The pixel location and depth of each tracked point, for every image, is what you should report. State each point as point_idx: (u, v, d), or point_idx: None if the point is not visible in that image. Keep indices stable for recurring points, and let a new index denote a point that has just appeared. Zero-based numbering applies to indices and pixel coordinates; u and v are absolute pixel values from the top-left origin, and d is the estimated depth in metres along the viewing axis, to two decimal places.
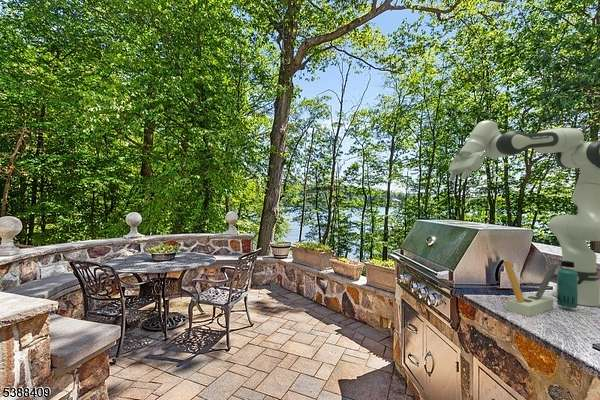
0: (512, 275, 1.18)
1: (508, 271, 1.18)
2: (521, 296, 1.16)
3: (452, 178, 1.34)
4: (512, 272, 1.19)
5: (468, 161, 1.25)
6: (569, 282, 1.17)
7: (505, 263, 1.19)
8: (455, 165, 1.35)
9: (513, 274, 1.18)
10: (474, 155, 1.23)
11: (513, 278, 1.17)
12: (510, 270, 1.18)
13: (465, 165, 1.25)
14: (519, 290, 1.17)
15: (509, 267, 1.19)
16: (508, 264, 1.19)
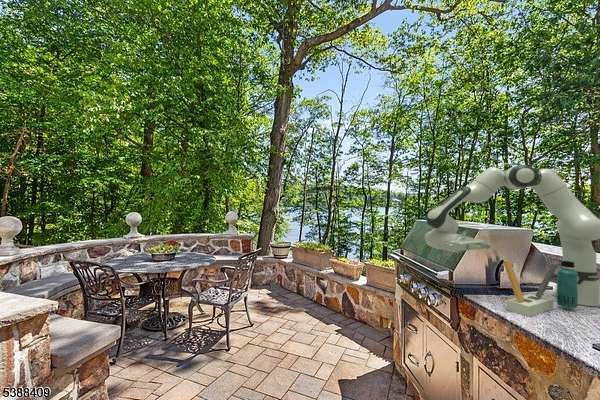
0: (512, 275, 1.18)
1: (508, 271, 1.18)
2: (521, 296, 1.16)
3: (487, 247, 1.30)
4: (512, 272, 1.19)
5: None
6: (569, 282, 1.17)
7: (505, 263, 1.19)
8: None
9: (513, 274, 1.18)
10: None
11: (513, 278, 1.17)
12: (510, 270, 1.18)
13: None
14: (519, 290, 1.17)
15: (509, 267, 1.19)
16: (508, 264, 1.19)
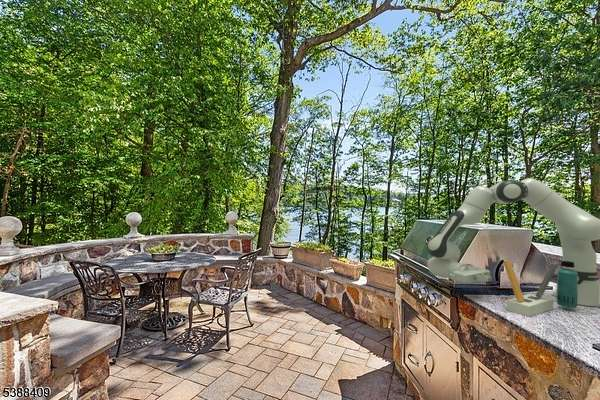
0: (512, 275, 1.18)
1: (508, 271, 1.18)
2: (521, 296, 1.16)
3: None
4: (512, 272, 1.19)
5: None
6: (569, 282, 1.17)
7: (505, 263, 1.19)
8: None
9: (513, 274, 1.18)
10: None
11: (513, 278, 1.17)
12: (510, 270, 1.18)
13: None
14: (519, 290, 1.17)
15: (509, 267, 1.19)
16: (508, 264, 1.19)
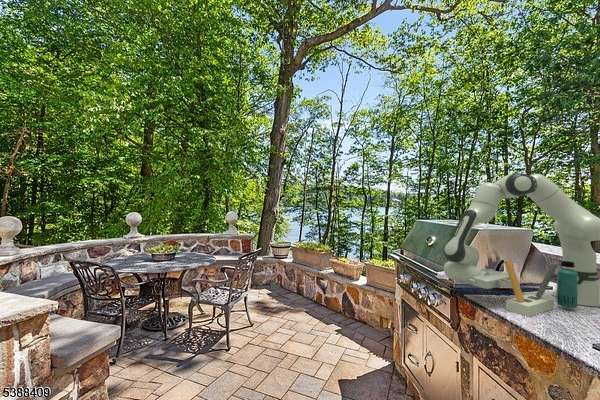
0: (513, 275, 1.18)
1: (509, 271, 1.18)
2: (521, 296, 1.16)
3: None
4: (513, 272, 1.18)
5: None
6: (569, 282, 1.17)
7: (506, 263, 1.19)
8: None
9: (514, 274, 1.18)
10: None
11: (514, 278, 1.17)
12: (511, 270, 1.18)
13: None
14: (519, 290, 1.16)
15: (510, 267, 1.18)
16: (509, 264, 1.19)
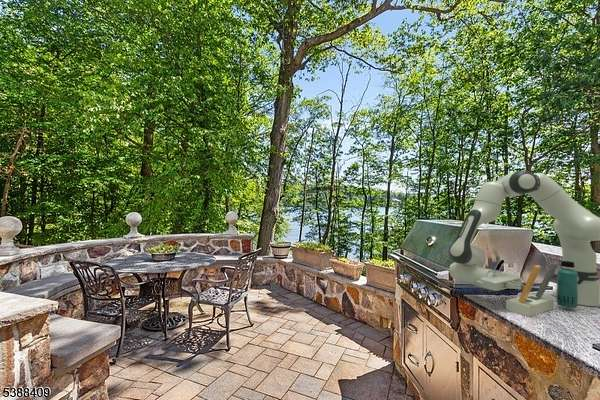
0: (532, 280, 1.12)
1: (531, 276, 1.11)
2: (525, 298, 1.15)
3: None
4: (534, 277, 1.12)
5: None
6: (569, 282, 1.17)
7: (535, 268, 1.10)
8: None
9: (534, 279, 1.12)
10: None
11: (531, 283, 1.12)
12: (534, 276, 1.11)
13: None
14: (527, 293, 1.14)
15: (535, 273, 1.11)
16: (537, 270, 1.10)
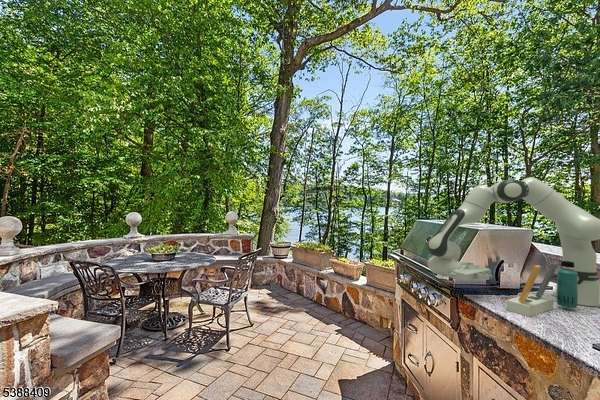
0: (532, 280, 1.12)
1: (531, 276, 1.11)
2: (525, 298, 1.15)
3: None
4: (534, 277, 1.12)
5: None
6: (569, 282, 1.17)
7: (535, 268, 1.10)
8: None
9: (534, 279, 1.12)
10: None
11: (531, 283, 1.12)
12: (534, 276, 1.11)
13: None
14: (527, 293, 1.14)
15: (535, 273, 1.11)
16: (537, 270, 1.10)
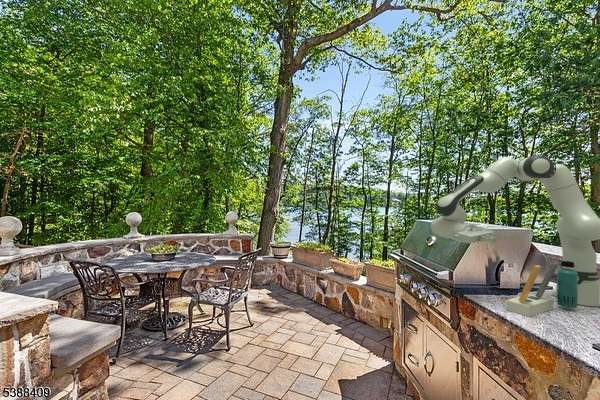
0: (532, 280, 1.12)
1: (531, 276, 1.11)
2: (525, 298, 1.15)
3: None
4: (534, 277, 1.12)
5: None
6: (569, 282, 1.17)
7: (535, 268, 1.10)
8: None
9: (534, 279, 1.12)
10: None
11: (531, 283, 1.12)
12: (534, 276, 1.11)
13: None
14: (527, 293, 1.14)
15: (535, 273, 1.11)
16: (537, 270, 1.10)
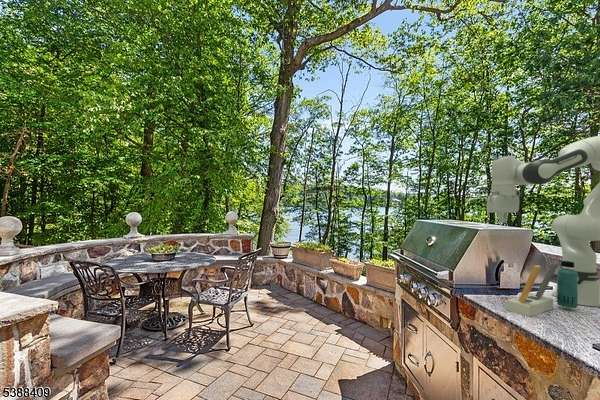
0: (532, 280, 1.12)
1: (531, 276, 1.11)
2: (525, 298, 1.15)
3: None
4: (534, 277, 1.12)
5: None
6: (569, 282, 1.17)
7: (535, 268, 1.10)
8: None
9: (534, 279, 1.12)
10: None
11: (531, 283, 1.12)
12: (534, 276, 1.11)
13: None
14: (527, 293, 1.14)
15: (535, 273, 1.11)
16: (537, 270, 1.10)
